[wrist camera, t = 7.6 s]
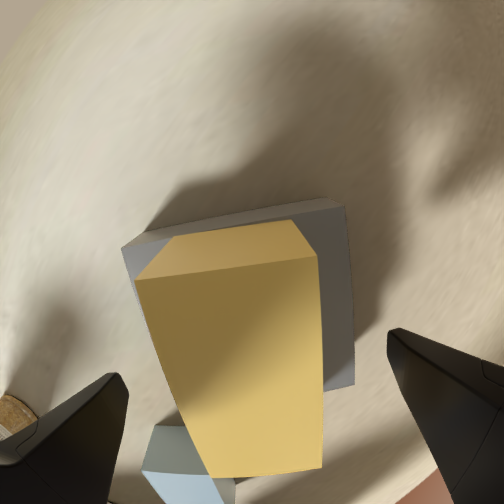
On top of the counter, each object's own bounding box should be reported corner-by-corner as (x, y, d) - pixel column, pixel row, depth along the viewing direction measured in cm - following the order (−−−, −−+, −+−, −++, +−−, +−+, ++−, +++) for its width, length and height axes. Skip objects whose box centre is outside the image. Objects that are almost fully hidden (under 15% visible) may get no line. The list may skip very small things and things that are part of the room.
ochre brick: (306, 397, 12) (321, 467, 9) (218, 407, 13) (211, 478, 9) (291, 219, 10) (317, 255, 6) (173, 236, 10) (133, 280, 6)
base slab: (338, 348, 15) (354, 384, 12) (191, 372, 16) (182, 410, 13) (323, 195, 13) (344, 205, 10) (146, 229, 13) (120, 248, 10)
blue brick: (235, 482, 19) (234, 523, 15) (186, 482, 19) (180, 521, 15) (215, 423, 16) (210, 475, 13) (155, 423, 17) (140, 470, 13)
